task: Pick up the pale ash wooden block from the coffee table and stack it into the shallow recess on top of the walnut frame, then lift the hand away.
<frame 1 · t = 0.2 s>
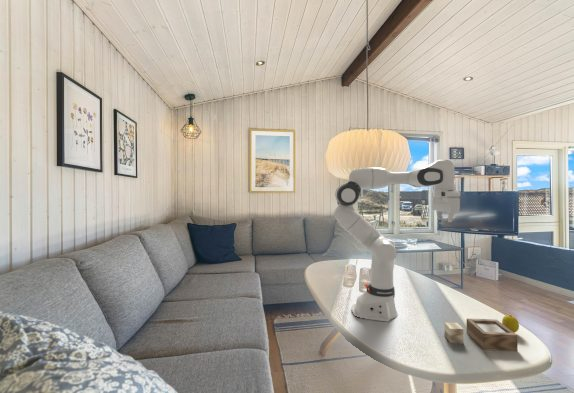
hand: (444, 220, 128), 47 cm above the table, tool pointing down, fingers open, 8 cm apart
walnut frame: (490, 341, 107), on the table
lemon: (510, 333, 112), on the table
ash block: (453, 339, 109), on the table
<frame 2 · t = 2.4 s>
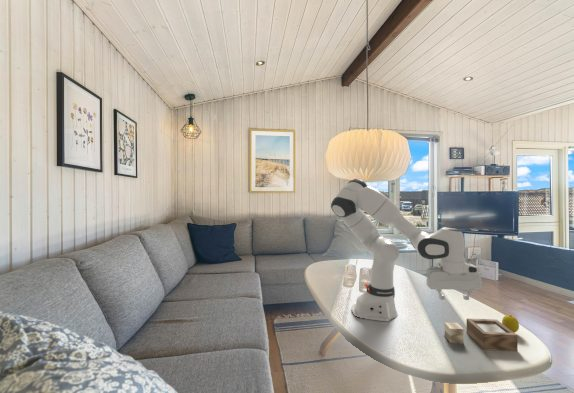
hand: (453, 299, 108), 17 cm above the table, tool pointing down, fingers open, 8 cm apart
nothing on the table moved.
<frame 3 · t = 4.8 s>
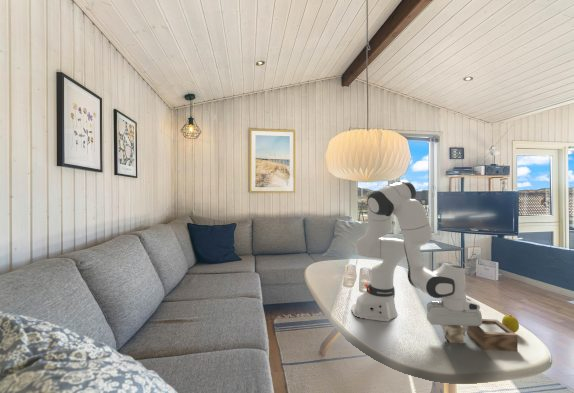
hand: (453, 334, 108), 2 cm above the table, tool pointing down, fingers closed on ash block, 5 cm apart
ash block: (453, 339, 108), on the table, touching gripper
everything else where it was.
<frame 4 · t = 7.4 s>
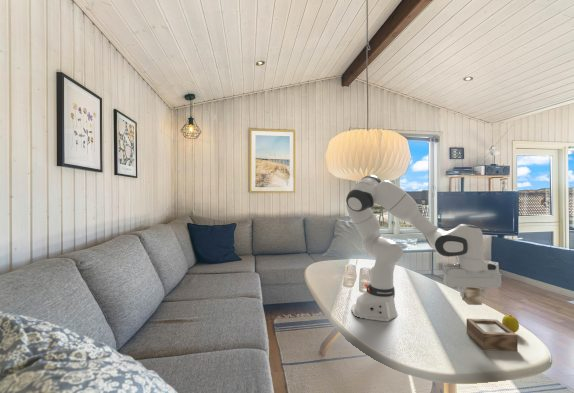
hand: (471, 296, 106), 19 cm above the table, tool pointing down, fingers closed on ash block, 5 cm apart
ash block: (471, 302, 106), point 16 cm above the table, touching gripper
everything else where it was.
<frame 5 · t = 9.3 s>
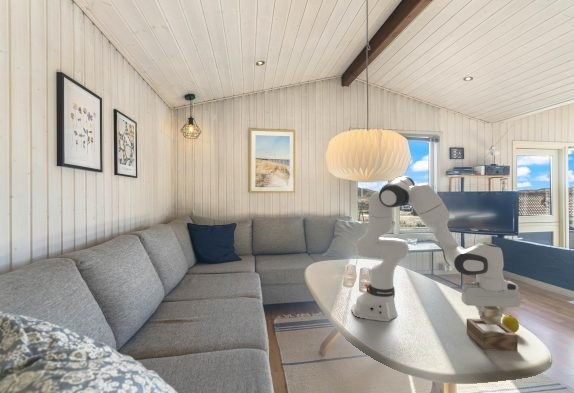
hand: (490, 316, 106), 11 cm above the table, tool pointing down, fingers closed on ash block, 5 cm apart
ash block: (490, 321, 106), point 9 cm above the table, touching gripper
everything else where it was.
when the fingers open (9 cm above the table, at t = 10.5 s): ash block drops 2 cm, resting on walnut frame.
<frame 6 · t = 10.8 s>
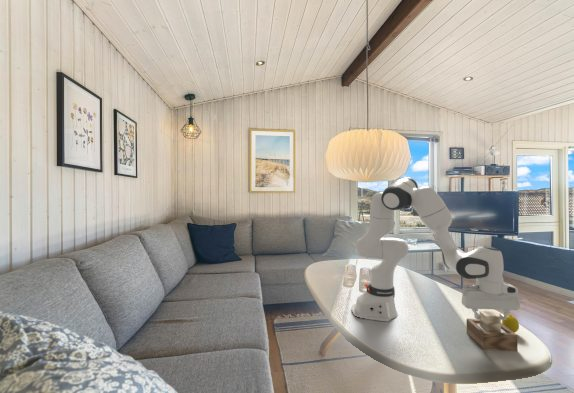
hand: (490, 318, 106), 9 cm above the table, tool pointing down, fingers open, 8 cm apart
ash block: (490, 328, 107), point 5 cm above the table, touching walnut frame
everything else where it was.
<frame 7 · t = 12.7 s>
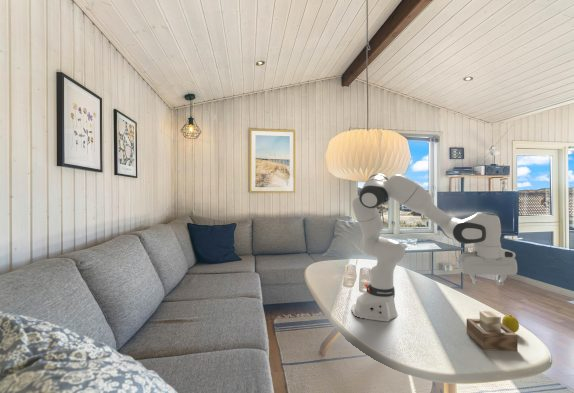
hand: (487, 284, 107), 23 cm above the table, tool pointing down, fingers open, 8 cm apart
nothing on the table moved.
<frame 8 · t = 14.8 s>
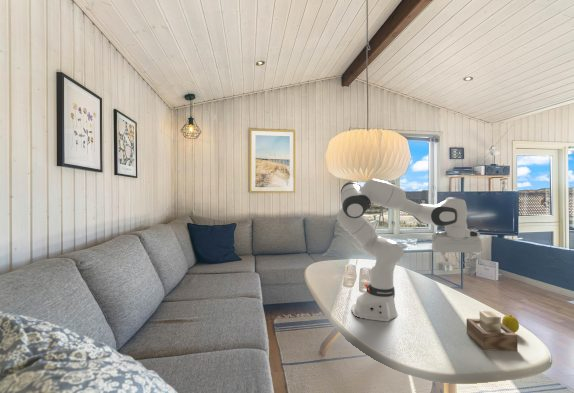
hand: (456, 261, 121), 29 cm above the table, tool pointing down, fingers open, 8 cm apart
nothing on the table moved.
at the end: ash block 0.1 cm off-centre on the walnut frame, point 5.2 cm above the walnut frame's base; ash block tilted 0°; the gripper is holding nothing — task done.
